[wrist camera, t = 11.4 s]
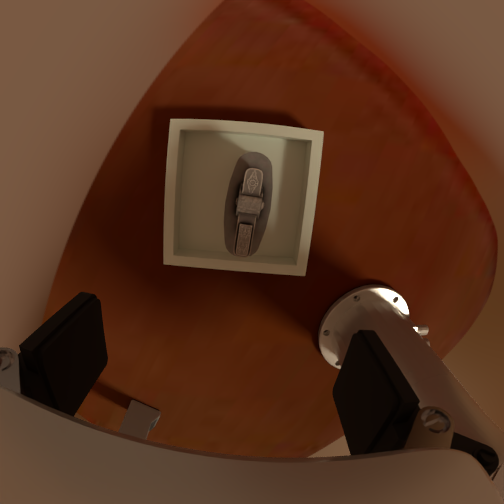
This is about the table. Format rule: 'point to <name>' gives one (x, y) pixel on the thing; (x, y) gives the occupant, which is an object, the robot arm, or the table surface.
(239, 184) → the lighter
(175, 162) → the tray
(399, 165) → the table surface
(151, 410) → the vintage mobile phone
